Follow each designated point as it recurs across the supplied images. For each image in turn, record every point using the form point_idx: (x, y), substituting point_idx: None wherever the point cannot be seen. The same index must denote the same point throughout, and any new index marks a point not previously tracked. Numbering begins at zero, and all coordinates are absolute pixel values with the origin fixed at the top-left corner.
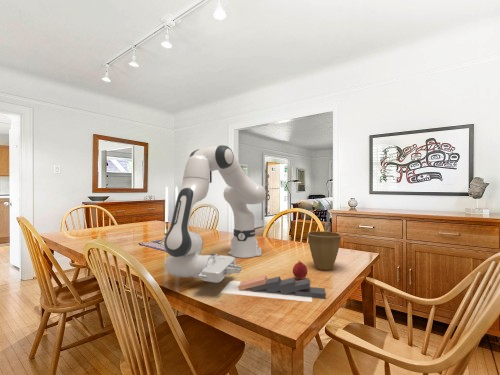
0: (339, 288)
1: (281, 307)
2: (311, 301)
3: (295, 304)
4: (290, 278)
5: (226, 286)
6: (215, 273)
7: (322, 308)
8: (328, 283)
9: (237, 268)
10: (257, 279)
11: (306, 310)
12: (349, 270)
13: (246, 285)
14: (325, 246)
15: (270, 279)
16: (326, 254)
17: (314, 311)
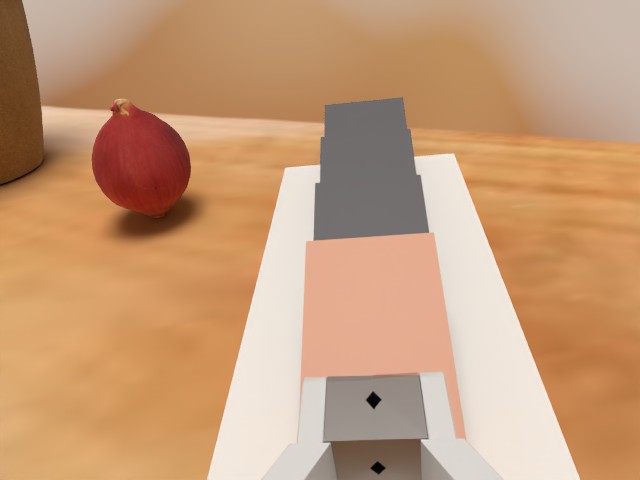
0: (269, 125)
1: (585, 222)
2: (450, 154)
3: (506, 190)
4: (327, 154)
5: None
6: None
7: (490, 135)
8: (214, 146)
9: (445, 391)
10: (381, 300)
11: (544, 160)
12: (67, 123)
13: (459, 414)
14: (14, 17)
15: (337, 238)
16: (29, 67)
17: (535, 146)
